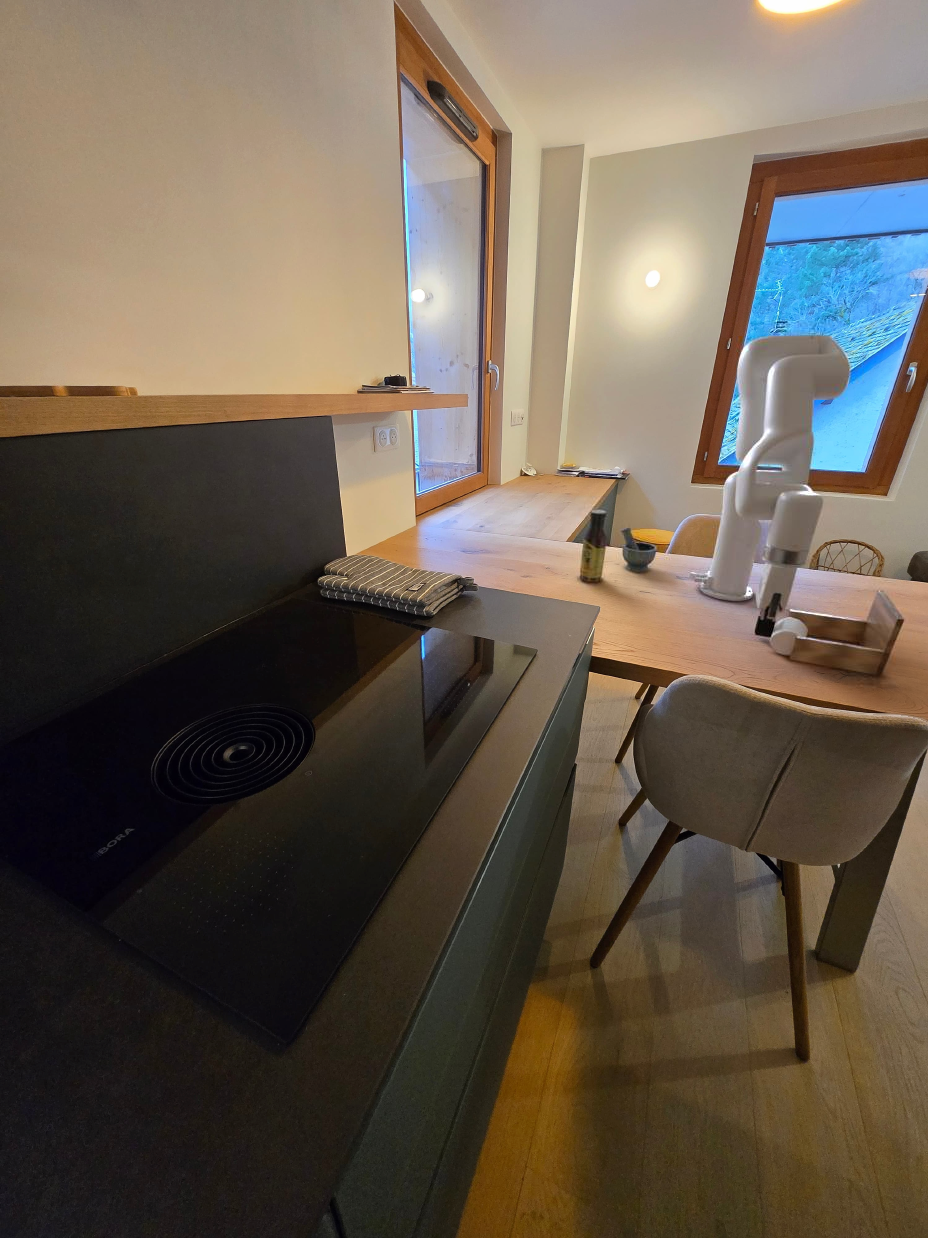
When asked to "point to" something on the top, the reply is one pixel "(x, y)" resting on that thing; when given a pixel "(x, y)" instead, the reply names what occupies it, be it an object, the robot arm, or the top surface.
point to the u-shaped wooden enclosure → (850, 638)
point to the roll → (787, 634)
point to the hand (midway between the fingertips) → (762, 634)
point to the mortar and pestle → (637, 552)
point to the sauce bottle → (594, 548)
